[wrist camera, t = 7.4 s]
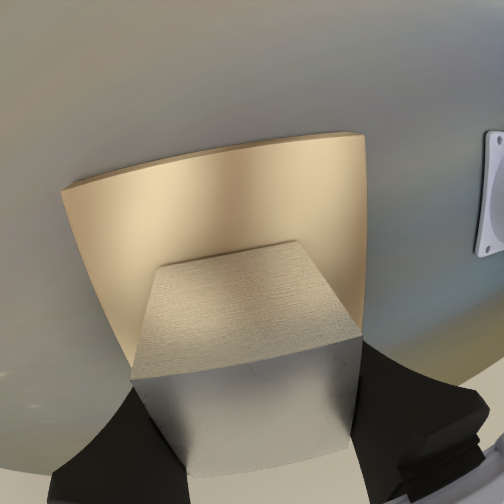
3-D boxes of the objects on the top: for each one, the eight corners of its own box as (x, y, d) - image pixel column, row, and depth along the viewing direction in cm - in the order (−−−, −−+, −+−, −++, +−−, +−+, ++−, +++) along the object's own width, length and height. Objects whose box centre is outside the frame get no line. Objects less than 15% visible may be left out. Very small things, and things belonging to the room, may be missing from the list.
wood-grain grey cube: (297, 241, 12) (363, 335, 7) (305, 347, 15) (347, 448, 9) (157, 267, 12) (129, 379, 7) (191, 369, 14) (193, 478, 9)
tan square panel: (348, 131, 13) (437, 154, 7) (347, 364, 19) (384, 437, 13) (74, 182, 12) (-1, 236, 6) (162, 400, 18) (159, 482, 13)
